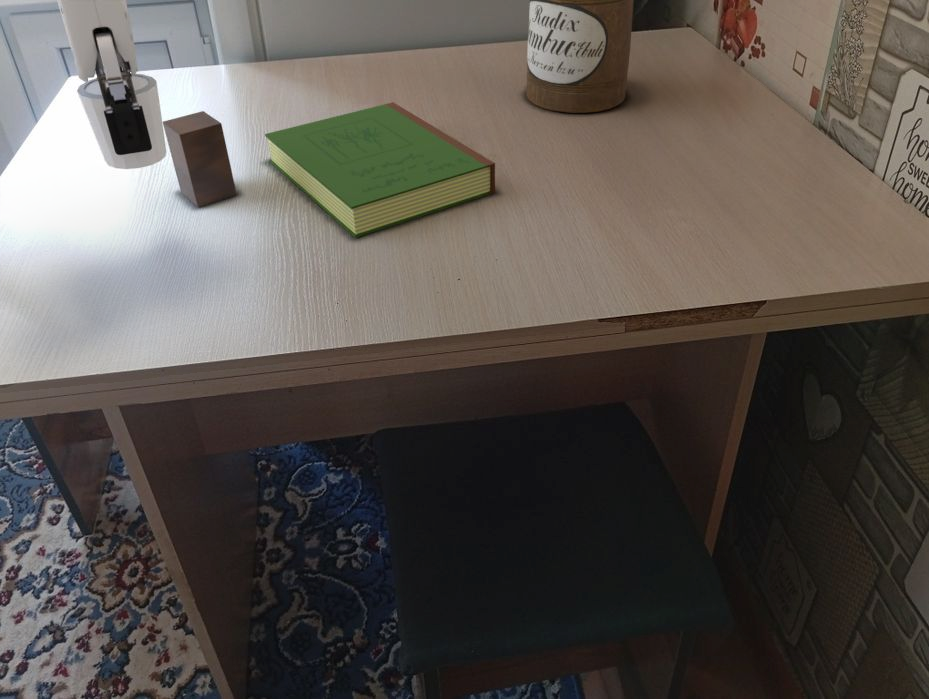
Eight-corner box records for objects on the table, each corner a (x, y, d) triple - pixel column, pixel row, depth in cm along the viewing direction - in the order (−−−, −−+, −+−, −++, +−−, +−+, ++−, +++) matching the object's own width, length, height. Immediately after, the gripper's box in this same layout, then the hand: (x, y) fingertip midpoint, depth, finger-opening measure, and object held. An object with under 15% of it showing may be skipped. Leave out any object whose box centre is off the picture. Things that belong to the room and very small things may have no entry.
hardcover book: (494, 192, 94) (495, 163, 92) (355, 237, 86) (351, 207, 84) (392, 126, 111) (390, 100, 108) (267, 159, 103) (262, 132, 100)
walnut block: (197, 207, 92) (179, 134, 87) (181, 193, 96) (162, 121, 90) (237, 195, 95) (221, 123, 89) (219, 181, 98) (203, 110, 92)
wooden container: (506, 99, 118) (508, -64, 105) (563, 72, 127) (572, -81, 114) (589, 122, 111) (603, -50, 97) (643, 92, 119) (663, -69, 106)
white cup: (151, 137, 80) (133, 67, 75) (186, 156, 76) (170, 84, 72) (85, 156, 76) (63, 84, 72) (119, 178, 72) (97, 103, 68)
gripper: (24, -87, 69) (84, 111, 80) (22, -50, 56) (93, 180, 67) (115, -93, 71) (161, 101, 82) (132, -58, 59) (184, 165, 70)
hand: (130, 135), depth 75 cm, fingers closed on white cup, 6 cm apart
